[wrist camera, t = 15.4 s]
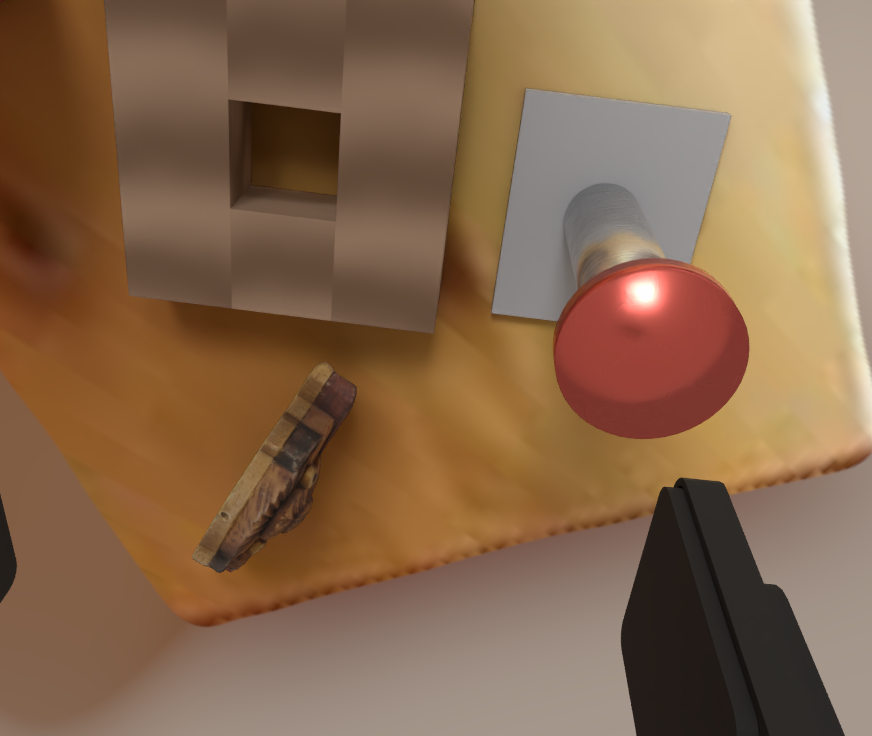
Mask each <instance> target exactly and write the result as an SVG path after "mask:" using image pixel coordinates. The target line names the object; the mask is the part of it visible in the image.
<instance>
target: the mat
mask: <svg viewBox="0 0 872 736" xmlns="http://www.w3.org/2000/svg"><path fill="white" fill-rule="evenodd" d="M730 119H731V115H730V114H729V113H724V112H716V111H708V110H700V109H691V108H683V107H675V106H667V105H659V104H651V103H643V102H635V101H627V100H619V99H610V98H602V97H594V96H586V95H578V94H570V93H562V92H554V91H546V90H538V89H530V88H526V90H525V96H524V103H523V109H522V115H521V122H520V128H519V135H518V141H517V148H516V154H515V161H514V167H513V174H512V180H511V187H510V193H509V200H508V206H507V213H506V219H505V225H504V232H503V238H502V245H501V251H500V258H499V264H498V271H497V277H496V284H495V290H494V297H493V303H492V313H494V314H502V315H510V316H518V317H526V318H534V319H542V320H550V321H558V319H559V317H560V315H561V312H562V311H563V309H564V307H565V306H566V304H567V302H568V301H569V300H570V298H571V297H572V296H573V295H574V293H575V292H576V291H577V286H576V281H575V276H574V272H573V267H572V263H571V258H570V253H569V249H568V244H567V239H566V235H565V230H564V216H565V212H566V209H567V207H568V205H569V203H570V202H571V200H572V199H573V198H574V197H575V196H576V195H577V194H578V193H579V192H580V191H582V190H583V189H585V188H587V187H589V186H592V185H595V184H600V183H611V184H616V185H619V186H622V187H624V188H625V189H627V190H628V191H630V192H631V193H632V194H633V195H634V196H635V198H636V199H637V201H638V203H639V205H640V207H641V209H642V211H643V213H644V215H645V217H646V219H647V221H648V223H649V225H650V227H651V229H652V231H653V233H654V235H655V237H656V239H657V241H658V243H659V245H660V247H661V249H662V251H663V253H664V255H665V257H666V259H672V260H677V261H682V262H685V263H688V264H690V263H691V259H692V256H693V252H694V248H695V245H696V241H697V238H698V234H699V230H700V227H701V223H702V220H703V216H704V212H705V209H706V205H707V202H708V198H709V194H710V191H711V187H712V184H713V180H714V176H715V173H716V169H717V166H718V162H719V158H720V155H721V151H722V148H723V144H724V140H725V137H726V133H727V130H728V126H729V122H730Z"/></svg>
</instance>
